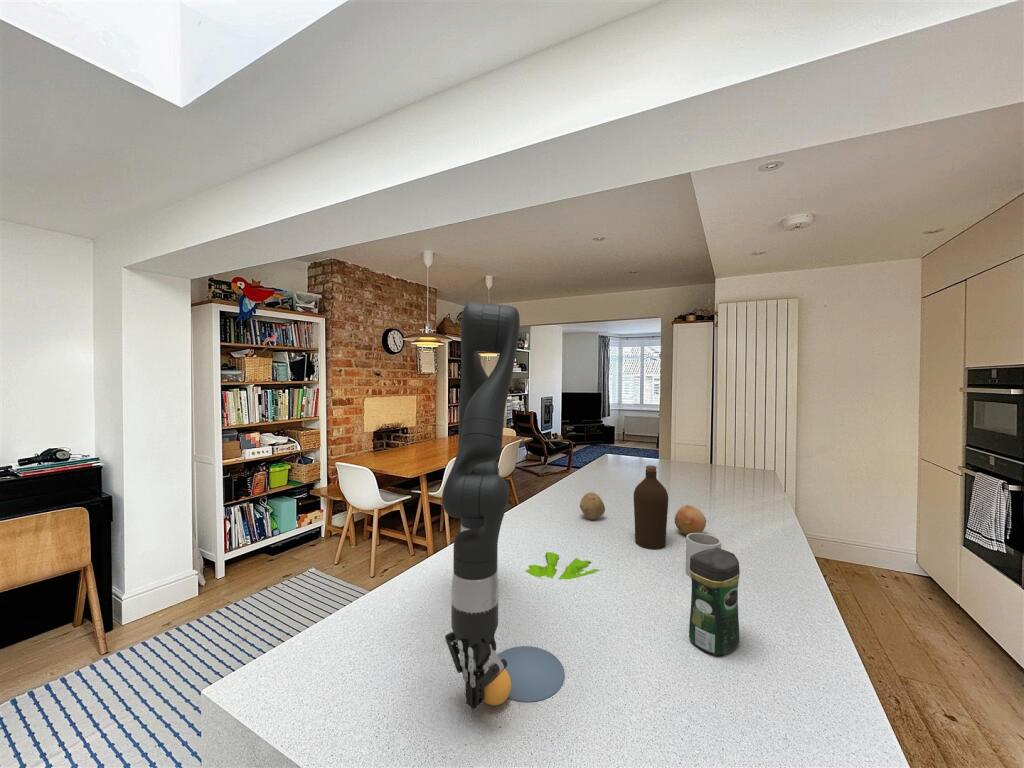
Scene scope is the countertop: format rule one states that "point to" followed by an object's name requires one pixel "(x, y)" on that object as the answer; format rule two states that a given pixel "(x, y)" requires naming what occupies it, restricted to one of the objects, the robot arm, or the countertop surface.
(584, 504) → the potato
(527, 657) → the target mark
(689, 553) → the mug
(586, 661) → the countertop surface
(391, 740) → the countertop surface
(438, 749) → the countertop surface
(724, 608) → the coffee jar
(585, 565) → the leaves
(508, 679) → the ball
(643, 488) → the olive oil
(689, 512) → the onion
